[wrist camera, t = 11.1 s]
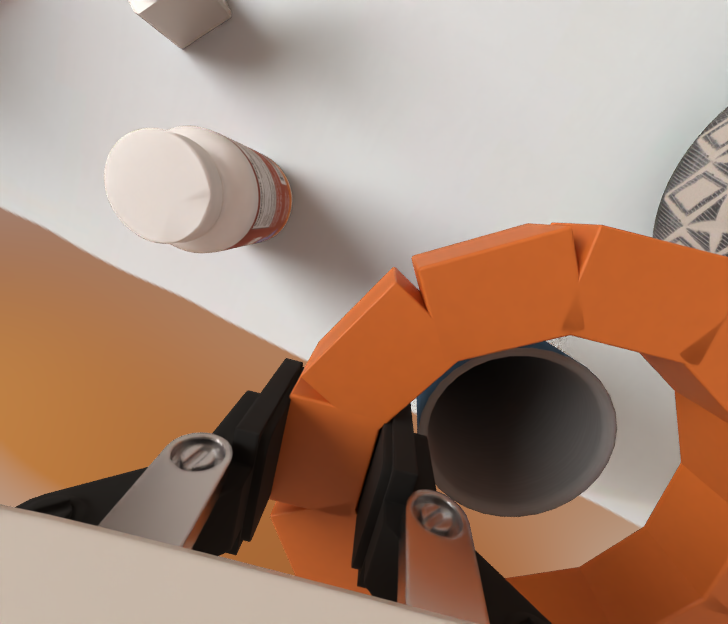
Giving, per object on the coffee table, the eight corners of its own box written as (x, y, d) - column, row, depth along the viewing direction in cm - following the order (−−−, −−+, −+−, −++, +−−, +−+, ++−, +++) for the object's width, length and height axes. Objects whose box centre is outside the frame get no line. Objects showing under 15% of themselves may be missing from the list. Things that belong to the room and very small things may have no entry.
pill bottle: (207, 234, 27) (85, 247, 16) (213, 144, 25) (81, 93, 14) (289, 249, 27) (221, 273, 16) (300, 161, 25) (233, 121, 14)
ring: (869, 303, 10) (1020, 331, 7) (634, 663, 14) (685, 755, 11) (350, 171, 10) (338, 157, 7) (263, 568, 14) (238, 640, 11)
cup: (453, 377, 28) (520, 547, 14) (384, 326, 28) (379, 450, 13) (514, 311, 27) (662, 425, 12) (442, 255, 26) (508, 306, 11)
